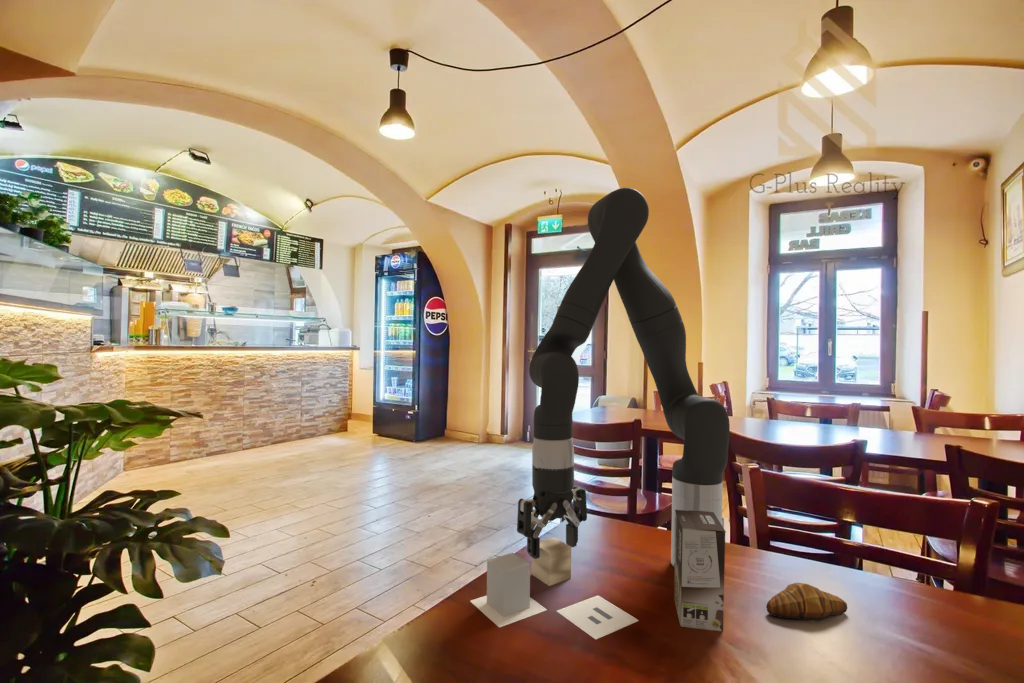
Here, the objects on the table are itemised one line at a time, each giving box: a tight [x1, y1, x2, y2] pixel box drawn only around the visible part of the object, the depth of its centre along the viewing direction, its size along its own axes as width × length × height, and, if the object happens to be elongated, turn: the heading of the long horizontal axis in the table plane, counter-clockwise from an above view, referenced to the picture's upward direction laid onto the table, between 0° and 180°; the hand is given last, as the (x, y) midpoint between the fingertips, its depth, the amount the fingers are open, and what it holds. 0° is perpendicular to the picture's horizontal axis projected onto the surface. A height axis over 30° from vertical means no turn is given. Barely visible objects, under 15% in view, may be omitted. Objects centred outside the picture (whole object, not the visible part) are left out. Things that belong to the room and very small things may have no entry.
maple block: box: [531, 536, 572, 587], centre depth 92 cm, size 5×5×7 cm
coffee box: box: [673, 510, 727, 632], centre depth 80 cm, size 9×6×16 cm
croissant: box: [766, 582, 848, 621], centre depth 83 cm, size 14×7×5 cm, turn 96°
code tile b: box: [469, 594, 548, 628], centre depth 82 cm, size 9×9×1 cm
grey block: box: [486, 552, 531, 617], centre depth 82 cm, size 5×5×7 cm
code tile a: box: [556, 594, 640, 640], centre depth 79 cm, size 9×9×1 cm
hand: (553, 551), depth 92 cm, fingers open, 8 cm apart
